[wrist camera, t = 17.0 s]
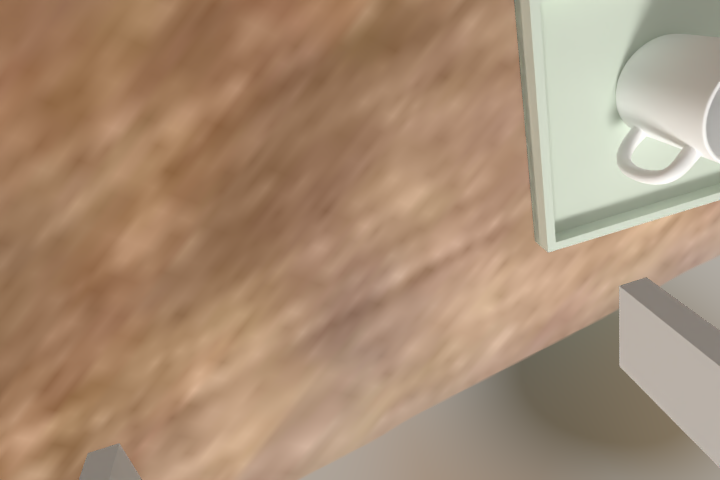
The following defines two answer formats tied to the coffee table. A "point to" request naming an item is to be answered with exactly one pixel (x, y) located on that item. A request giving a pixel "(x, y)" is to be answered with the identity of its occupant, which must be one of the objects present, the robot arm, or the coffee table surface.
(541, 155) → the sage tray
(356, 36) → the coffee table surface
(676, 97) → the cup
